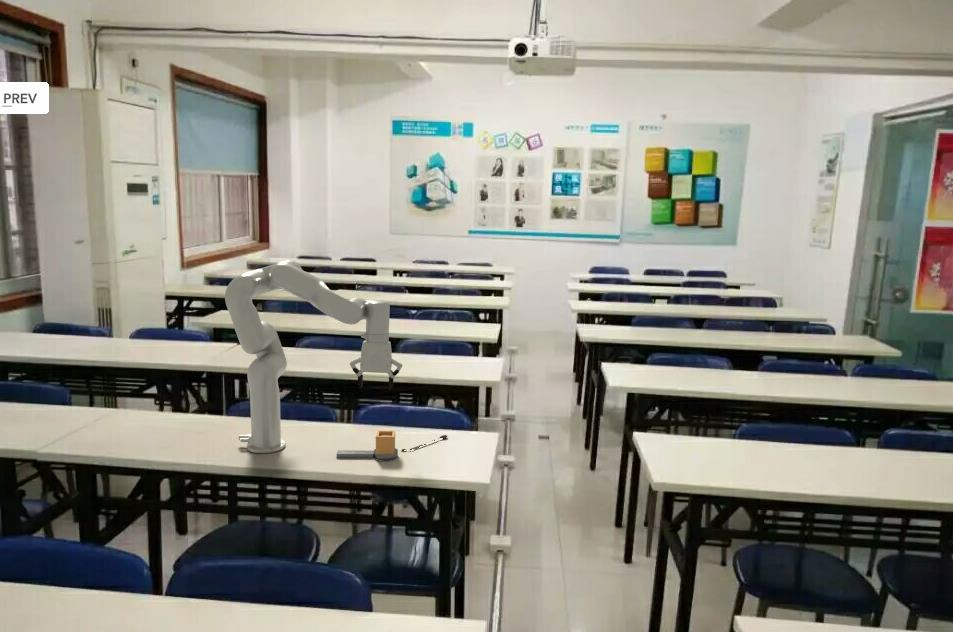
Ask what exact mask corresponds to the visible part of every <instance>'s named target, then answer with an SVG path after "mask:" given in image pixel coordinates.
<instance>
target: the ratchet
mask: <svg viewBox="0 0 953 632" xmlns="http://www.w3.org/2000/svg"><path fill="white" fill-rule="evenodd" d="M382 436H391V435H382ZM398 457H399V450H398V449H397V448H396V447H395V451H394V454H376V448H374V449H373V450H359V449H358V450H354V449H353V450H349V449H348V450H346V449H345V450H343V449H342V450H337V452H336V459H374V458H375V459H374V460H376V461H379V462H390V460H392V461H394V459H395V460H396V459H398Z"/></svg>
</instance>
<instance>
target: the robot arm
mask: <svg viewBox="0 0 953 632" xmlns="http://www.w3.org/2000/svg"><path fill="white" fill-rule="evenodd" d="M225 289H226V290H225V293H224V301H225V305H226V308H227V310H228V313H229V315H230V318H231V321H232V325H233V328H234V331H235V333H236V336H237V339H238V341H239V345H240V347H241V349H242V350H243V351H244V352H245V353H246V354H248V355H256V358H255V359H253V361H251V363H250V364H249V366H248V369H247V373H246V375H247V376H246V377H247V382H248V388H249V401H250V403H249V404H250V428H251V429H250V433H249V434H239V435H238V440H239V441H240V443H246V449H247V451H249V452H251V453H253V454H272V453H276V452H278V451H281V450H283V449H285V447H286V445H287V444H286V441H285V440H284V439H282V438H281V437H282V435H281V434H282V433H281V432H282V430H281V395H280V388H279V382H278V381H279V380H278V379H279V378H280V377H281V376H282V375H283V374H284V373H285V371H286V370H287V365H288V362H287V357H286V354H285V352H284V349H283V346H282V343H281V340H280V338H279V335H278V332H277V330H276V329H275V327H274V326H273V325H272V324H270V323H269V322H267V321H262V320H261V318H260V316H259V311H258V310H257V308H256V306H255V305H254V303H253V299H254V298H255V297H258V296H261V295H263V294H266V293H270V292H273V291H276V290H280V289H281V290H283V291H286V292H287V293H288V294H292V295H293V296H296V297H298V298H299V299H302V300H303V301H306V302H308V303H309V304H311V305H312V306H313V307H314V308H316V309H317V310H319V311H321V312H322V313H323V314H324V315H327V316H328V317H330V318H332V319H334V320H336V321H338V322H340V323H342V324H346V325H349V326H351V325H356V324H358V323H359V322H361V321H363V320H365V321H366V322H365V332H364V333H361V334H360V337H361V338H363V339H365V340H364V341H362V345H361V349H360V350H361V351H360V357H359V358H357V359H355V360H354V359H353V360H352V361H350V363H349V366H350V368H351V369H352V372H353V373H355V375H356V376H357V386H359V389H362V388H363V384H364V381H363V380H364V375H363V373H375V374H387V375H388V376H389V377H388V388H387V389H388V390H389V391H390V390H392V387H394V377H396V376H397V375H398V374H399V373H400V371H401V369H402V368H403V364H402V363H401V362H399V361H397V360H396V359H393V355H392V353H393V352H392V344H391V341H389V339H390V338H389V335H390V334H389V333H390V312H391V310H390V307H391V306H390V303H389V302H388V301H386V300H381V299H377V300H376V299H373V300H372V299H367V298H361V297H353V298H350V299H347V298H345V297H342V296H341V295H339V294H338V293H335V291H332V290H331V289H330V288H329V287H328V286H327V284H326V283H325V281H324V280H323V279H321V278H320V277H317V276H315V275H314V274H311V273H309V272H307V271H304V270H303V268H302V267H301V265H300V264H299V263H298V262H297V261H295V260H289V259H287V260H282V261H280V262H277V263H274V264H272V265H268V266H265V267H262V268H257V269H253V270H250V271H246V272H244V273H243V272H242V273H240V274H239V275H237V276H236V277H234V278H233V279H232V280H231V281H230V282H229V283H228V285H227V287H226V288H225ZM357 364H359V367H360V369H359V368H358V367H356V365H357ZM392 365H393V366H395V367H396V368H395V370H392Z"/></svg>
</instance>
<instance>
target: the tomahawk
mask: <svg viewBox="0 0 953 632" xmlns="http://www.w3.org/2000/svg"><path fill="white" fill-rule="evenodd" d="M446 437H448V435H447V434H443V435H441V436H439V438H444V439H447V438H446ZM433 440H434V441H435V440H436V439H433ZM433 440H431V441H433ZM423 444H424V443H423ZM424 445H426V444H424ZM420 446H423V445H422V444H419V445H417V446H414V447H411V448H409V450H412V449H416V450H418V449H417V448H419V447H420ZM419 449H420V448H419ZM401 450H402V451H404V450H406V449H405V448H402V449H401ZM402 451H401V452H402Z"/></svg>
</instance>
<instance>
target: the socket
mask: <svg viewBox="0 0 953 632" xmlns="http://www.w3.org/2000/svg"><path fill="white" fill-rule="evenodd" d="M382 435H391V436H382ZM395 448H396V430H379V429H378V430H376V434H375V449H376V454H394V451H395Z"/></svg>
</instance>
